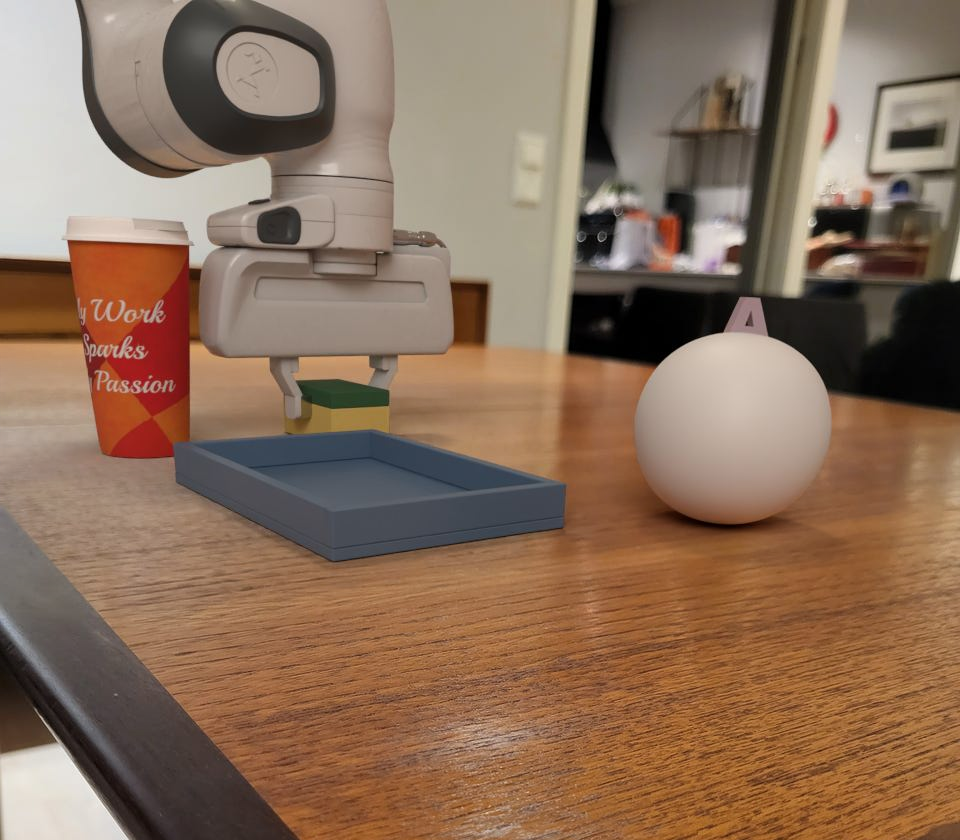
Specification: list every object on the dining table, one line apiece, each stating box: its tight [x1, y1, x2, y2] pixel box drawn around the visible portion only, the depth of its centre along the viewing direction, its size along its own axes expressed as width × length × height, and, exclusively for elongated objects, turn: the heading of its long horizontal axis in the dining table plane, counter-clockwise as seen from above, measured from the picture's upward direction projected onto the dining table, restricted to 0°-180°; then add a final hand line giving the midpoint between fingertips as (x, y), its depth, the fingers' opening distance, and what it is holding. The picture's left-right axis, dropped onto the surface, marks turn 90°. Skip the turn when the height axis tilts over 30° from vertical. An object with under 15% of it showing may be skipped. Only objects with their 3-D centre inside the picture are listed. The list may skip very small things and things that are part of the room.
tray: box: [173, 429, 567, 562], centre depth 57 cm, size 20×14×2 cm
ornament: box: [633, 296, 833, 525], centre depth 55 cm, size 10×10×12 cm
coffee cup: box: [61, 215, 195, 459], centre depth 68 cm, size 8×8×15 cm
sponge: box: [283, 378, 391, 435], centre depth 78 cm, size 8×5×4 cm, turn 36°
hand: (335, 416), depth 78 cm, fingers closed on sponge, 5 cm apart
